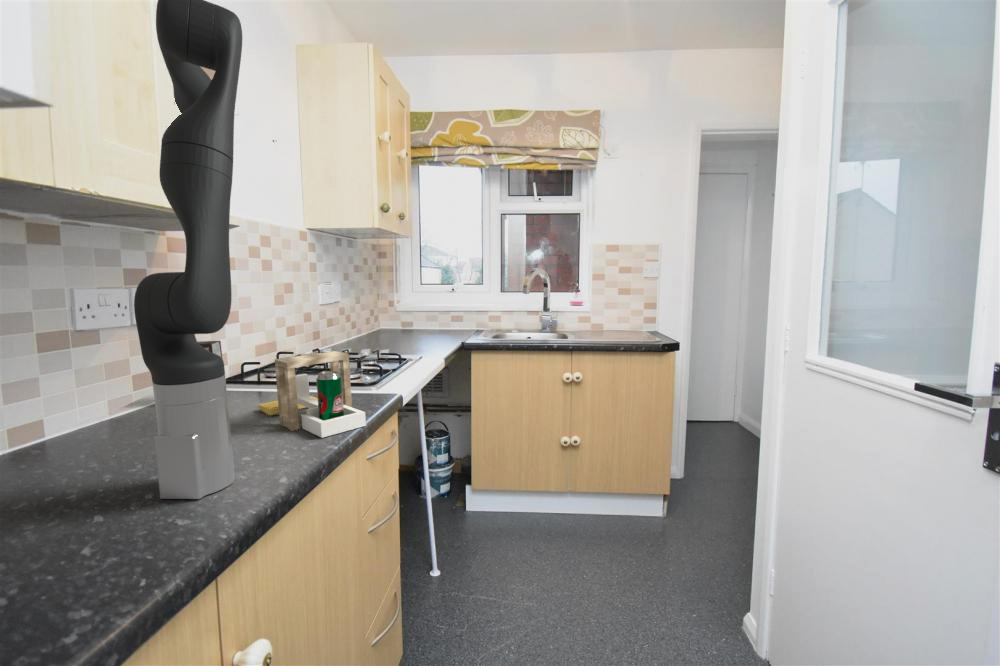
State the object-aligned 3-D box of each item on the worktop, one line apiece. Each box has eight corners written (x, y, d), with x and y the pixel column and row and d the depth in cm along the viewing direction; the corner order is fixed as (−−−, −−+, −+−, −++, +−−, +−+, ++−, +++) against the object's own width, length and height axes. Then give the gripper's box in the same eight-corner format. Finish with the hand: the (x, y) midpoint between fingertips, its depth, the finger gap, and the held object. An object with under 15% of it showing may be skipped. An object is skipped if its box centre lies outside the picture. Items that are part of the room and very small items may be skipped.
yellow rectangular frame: (270, 416, 108) (269, 409, 108) (259, 411, 113) (258, 404, 113) (320, 405, 117) (319, 399, 117) (307, 400, 122) (307, 394, 122)
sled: (321, 437, 93) (318, 394, 92) (278, 416, 108) (275, 378, 107) (366, 425, 100) (363, 384, 99) (319, 407, 115) (317, 371, 114)
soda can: (339, 431, 97) (335, 375, 96) (315, 431, 98) (311, 375, 96) (348, 423, 102) (344, 370, 101) (325, 423, 103) (322, 370, 101)
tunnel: (292, 431, 98) (287, 362, 96) (279, 424, 102) (274, 359, 100) (352, 415, 108) (348, 353, 106) (338, 410, 112) (335, 350, 110)
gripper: (231, 203, 97) (238, 286, 99) (213, 211, 107) (220, 286, 109) (190, 199, 92) (197, 287, 94) (174, 207, 101) (182, 287, 103)
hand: (209, 286), depth 101 cm, fingers closed
